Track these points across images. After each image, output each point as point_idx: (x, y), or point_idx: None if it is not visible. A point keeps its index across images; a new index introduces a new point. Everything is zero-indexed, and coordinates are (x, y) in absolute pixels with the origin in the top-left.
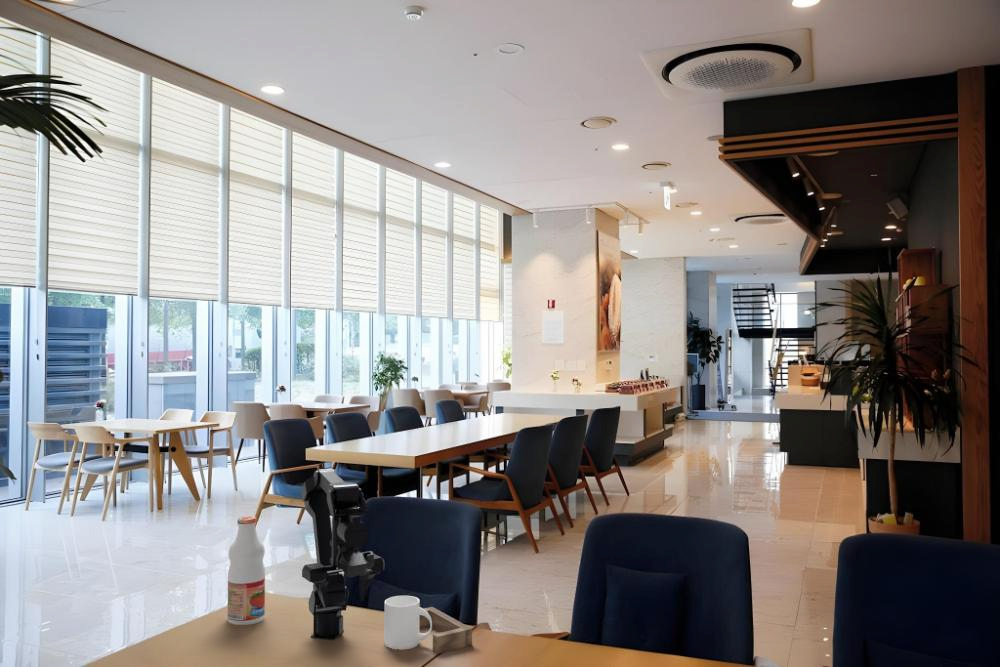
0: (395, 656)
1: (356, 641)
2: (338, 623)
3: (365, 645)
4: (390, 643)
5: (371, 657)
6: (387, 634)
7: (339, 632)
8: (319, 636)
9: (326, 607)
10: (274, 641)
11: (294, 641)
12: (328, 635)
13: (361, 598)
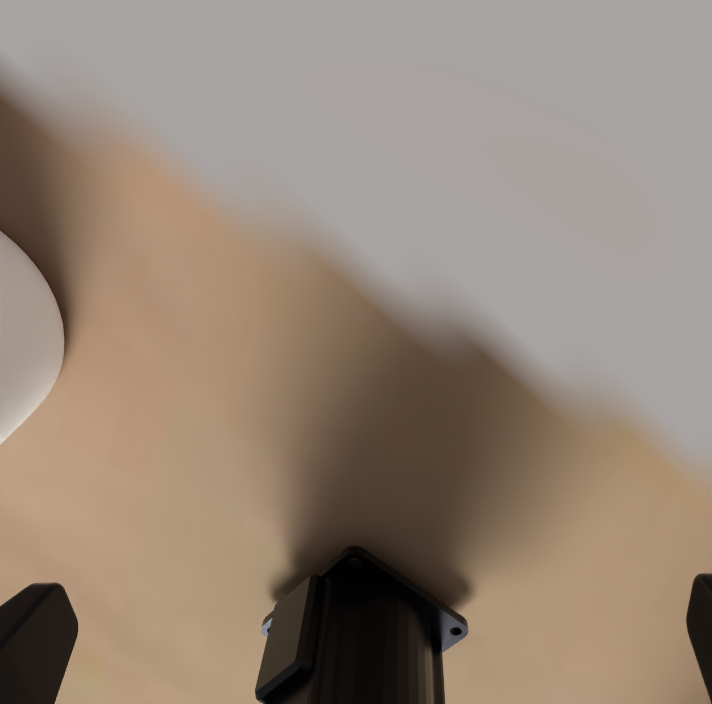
0: (25, 127)
1: (226, 490)
2: (306, 635)
3: (189, 412)
4: (17, 276)
5: (200, 202)
6: (2, 332)
7: (307, 585)
8: (424, 607)
9: (709, 578)
10: (633, 682)
11: (543, 640)
12: (376, 589)
13: (43, 622)
